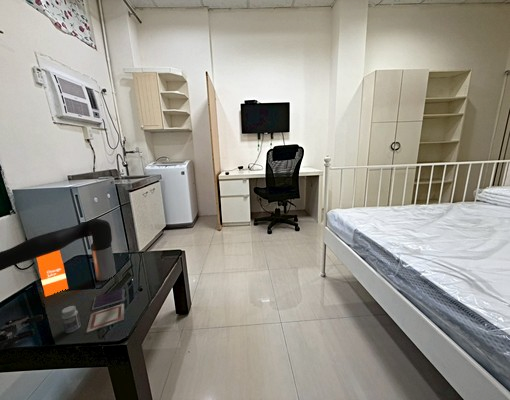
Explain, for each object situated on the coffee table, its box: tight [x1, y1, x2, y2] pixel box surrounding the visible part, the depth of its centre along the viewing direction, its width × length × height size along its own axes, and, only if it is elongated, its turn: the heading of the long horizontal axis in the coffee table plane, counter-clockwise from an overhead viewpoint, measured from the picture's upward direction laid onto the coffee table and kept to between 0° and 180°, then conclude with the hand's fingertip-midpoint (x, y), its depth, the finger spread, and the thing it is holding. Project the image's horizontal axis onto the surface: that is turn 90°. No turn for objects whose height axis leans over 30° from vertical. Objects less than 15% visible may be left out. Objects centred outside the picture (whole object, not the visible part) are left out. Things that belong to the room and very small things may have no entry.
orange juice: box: [36, 249, 69, 297], centre depth 109 cm, size 8×9×20 cm
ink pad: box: [91, 288, 125, 311], centre depth 100 cm, size 12×10×2 cm
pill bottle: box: [61, 305, 81, 334], centre depth 82 cm, size 5×5×8 cm
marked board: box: [85, 303, 125, 334], centre depth 88 cm, size 12×12×1 cm
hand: (38, 324), depth 78 cm, fingers open, 8 cm apart
